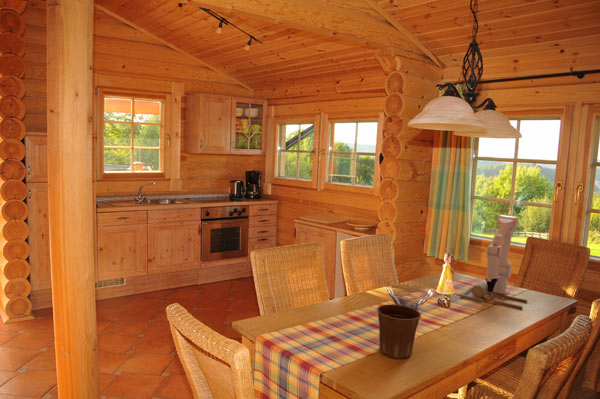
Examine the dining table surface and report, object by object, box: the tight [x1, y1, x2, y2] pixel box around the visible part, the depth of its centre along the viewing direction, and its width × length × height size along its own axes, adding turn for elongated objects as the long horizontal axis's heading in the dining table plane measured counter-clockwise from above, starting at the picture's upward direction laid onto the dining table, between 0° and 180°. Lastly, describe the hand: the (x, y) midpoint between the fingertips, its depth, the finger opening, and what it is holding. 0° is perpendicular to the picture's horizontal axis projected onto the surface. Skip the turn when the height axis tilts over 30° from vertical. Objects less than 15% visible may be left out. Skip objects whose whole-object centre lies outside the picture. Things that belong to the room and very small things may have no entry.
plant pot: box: [376, 303, 422, 360], centre depth 170 cm, size 16×16×16 cm
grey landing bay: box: [460, 286, 493, 303], centre depth 247 cm, size 20×12×2 cm, turn 144°
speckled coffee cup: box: [471, 281, 494, 301], centre depth 244 cm, size 11×8×8 cm
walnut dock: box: [492, 293, 528, 310], centre depth 237 cm, size 15×14×2 cm
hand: (490, 291), depth 243 cm, fingers closed
